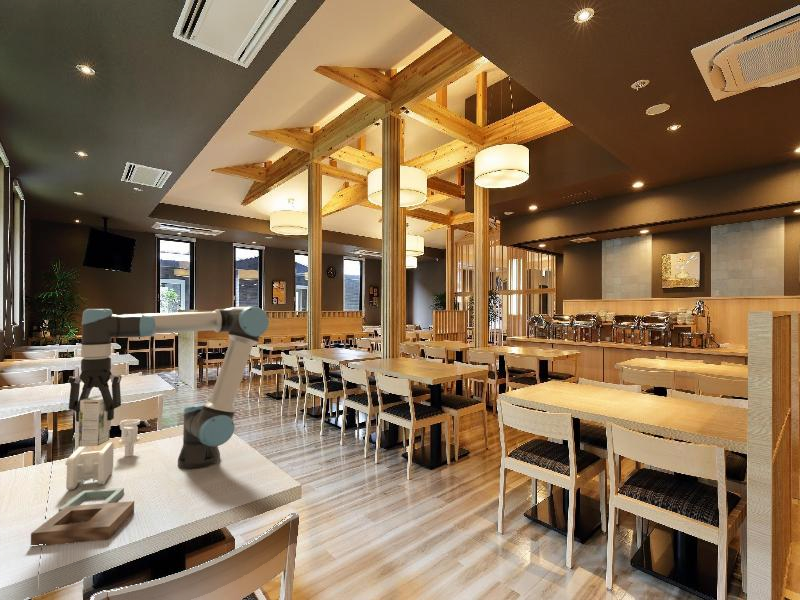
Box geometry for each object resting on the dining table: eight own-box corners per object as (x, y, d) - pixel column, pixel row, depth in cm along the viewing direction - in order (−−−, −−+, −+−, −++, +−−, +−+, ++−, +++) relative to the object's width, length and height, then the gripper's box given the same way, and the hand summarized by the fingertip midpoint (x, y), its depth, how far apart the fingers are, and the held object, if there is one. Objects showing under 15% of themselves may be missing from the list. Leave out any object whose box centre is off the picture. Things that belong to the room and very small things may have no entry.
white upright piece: (114, 456, 163) (115, 420, 164) (132, 451, 170) (132, 416, 170) (126, 459, 161) (126, 422, 161) (143, 453, 167) (143, 417, 167)
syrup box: (90, 440, 127) (91, 395, 127) (110, 440, 127) (111, 395, 127) (78, 447, 121) (79, 399, 121) (98, 446, 121) (99, 399, 122)
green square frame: (123, 493, 131) (124, 487, 131) (104, 512, 119) (104, 505, 119) (82, 496, 128) (83, 490, 128) (58, 516, 117) (58, 509, 117)
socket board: (134, 512, 119) (134, 501, 119) (109, 539, 105) (109, 526, 105) (65, 518, 115) (65, 506, 115) (30, 546, 101) (31, 533, 102)
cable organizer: (102, 488, 135) (103, 454, 135) (63, 494, 130) (64, 458, 131) (113, 471, 148) (114, 440, 149) (78, 476, 144) (79, 444, 144)
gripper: (135, 355, 130) (134, 426, 130) (69, 356, 127) (67, 429, 126) (124, 358, 123) (122, 433, 122) (53, 359, 119) (51, 436, 119)
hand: (94, 431), depth 124 cm, fingers closed on syrup box, 6 cm apart
